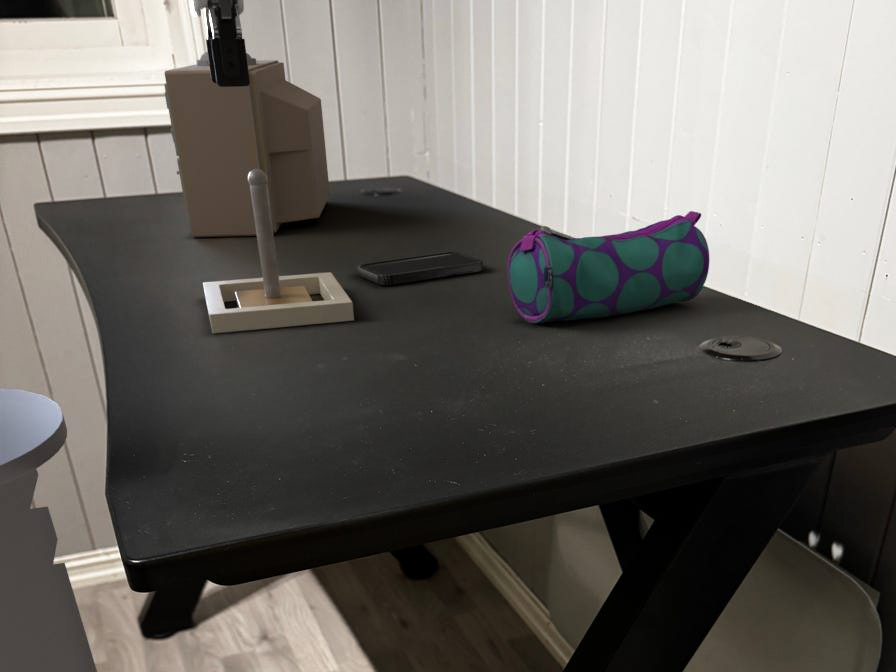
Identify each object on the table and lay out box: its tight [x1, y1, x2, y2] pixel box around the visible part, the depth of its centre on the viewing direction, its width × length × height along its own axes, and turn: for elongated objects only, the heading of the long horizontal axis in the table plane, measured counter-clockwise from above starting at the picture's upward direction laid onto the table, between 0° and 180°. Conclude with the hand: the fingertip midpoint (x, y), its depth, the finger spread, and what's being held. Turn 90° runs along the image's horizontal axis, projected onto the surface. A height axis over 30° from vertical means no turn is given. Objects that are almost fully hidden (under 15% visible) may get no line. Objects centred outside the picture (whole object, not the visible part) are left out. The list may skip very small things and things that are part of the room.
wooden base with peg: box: [235, 169, 314, 308], centre depth 103 cm, size 8×8×14 cm
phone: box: [357, 251, 484, 286], centre depth 120 cm, size 8×1×15 cm
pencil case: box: [506, 210, 710, 324], centre depth 101 cm, size 21×9×10 cm, turn 115°
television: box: [163, 12, 331, 238], centre depth 147 cm, size 36×20×40 cm, turn 3°
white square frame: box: [202, 271, 355, 334], centre depth 106 cm, size 15×15×2 cm
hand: (230, 84), depth 97 cm, fingers open, 9 cm apart
